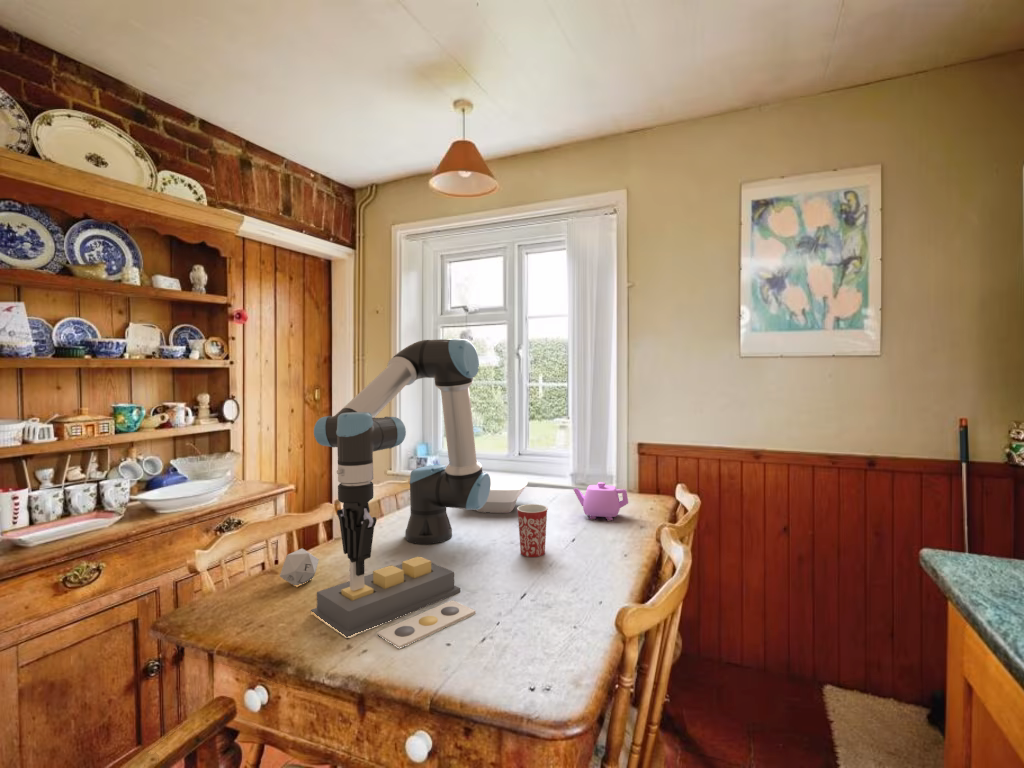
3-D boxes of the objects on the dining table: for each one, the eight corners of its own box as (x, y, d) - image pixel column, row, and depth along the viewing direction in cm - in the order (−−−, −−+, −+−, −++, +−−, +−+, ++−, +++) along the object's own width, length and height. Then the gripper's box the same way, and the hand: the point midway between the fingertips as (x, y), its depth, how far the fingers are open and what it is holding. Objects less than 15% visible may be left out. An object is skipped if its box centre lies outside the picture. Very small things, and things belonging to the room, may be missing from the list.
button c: (402, 577, 124) (402, 561, 124) (419, 572, 128) (418, 556, 128) (414, 583, 121) (414, 566, 121) (431, 577, 125) (431, 561, 124)
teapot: (629, 513, 192) (628, 480, 192) (627, 523, 180) (627, 487, 180) (576, 510, 197) (575, 478, 197) (571, 519, 185) (571, 485, 185)
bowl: (471, 500, 216) (471, 476, 216) (530, 501, 212) (530, 477, 212) (457, 515, 192) (457, 488, 192) (523, 517, 188) (523, 490, 188)
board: (310, 614, 113) (310, 592, 113) (420, 574, 135) (420, 556, 135) (346, 639, 102) (346, 614, 102) (460, 592, 124) (459, 571, 124)
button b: (373, 588, 119) (373, 571, 118) (391, 581, 122) (391, 565, 122) (385, 594, 115) (385, 576, 115) (403, 587, 119) (403, 570, 119)
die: (275, 594, 126) (293, 565, 124) (273, 566, 133) (291, 538, 130) (308, 596, 131) (326, 569, 129) (304, 569, 138) (322, 542, 136)
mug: (539, 560, 145) (539, 513, 144) (512, 555, 149) (511, 509, 149) (558, 547, 155) (557, 503, 155) (531, 542, 160) (531, 500, 160)
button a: (341, 607, 113) (341, 589, 113) (362, 600, 116) (361, 582, 116) (353, 614, 109) (352, 596, 109) (373, 606, 113) (373, 588, 113)
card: (376, 635, 104) (376, 631, 104) (452, 602, 118) (452, 599, 118) (399, 649, 98) (399, 645, 98) (475, 613, 113) (475, 610, 113)
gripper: (325, 480, 114) (327, 585, 115) (355, 489, 105) (357, 602, 106) (355, 475, 120) (357, 575, 120) (386, 483, 111) (388, 591, 111)
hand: (357, 588), depth 113 cm, fingers closed
